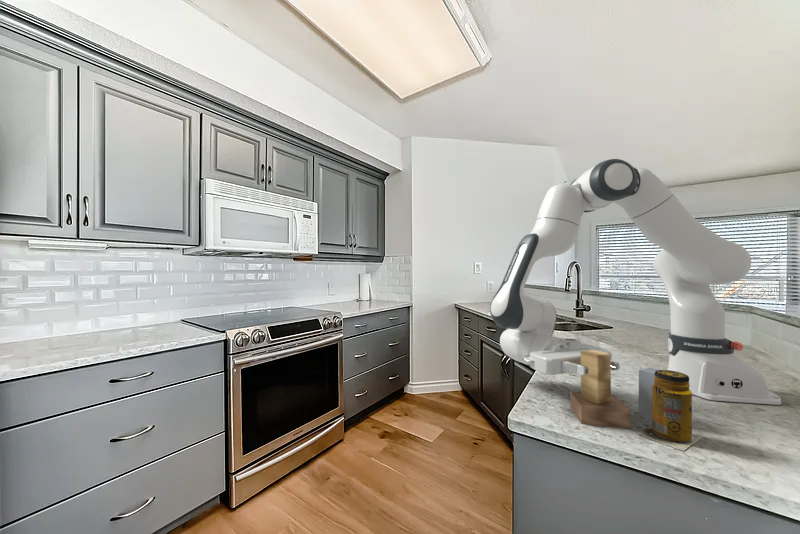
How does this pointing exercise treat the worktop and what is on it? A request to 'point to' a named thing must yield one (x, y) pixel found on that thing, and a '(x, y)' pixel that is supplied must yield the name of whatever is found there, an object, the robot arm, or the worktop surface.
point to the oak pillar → (596, 376)
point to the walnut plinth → (600, 411)
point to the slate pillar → (646, 392)
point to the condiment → (671, 410)
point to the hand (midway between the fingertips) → (602, 368)
